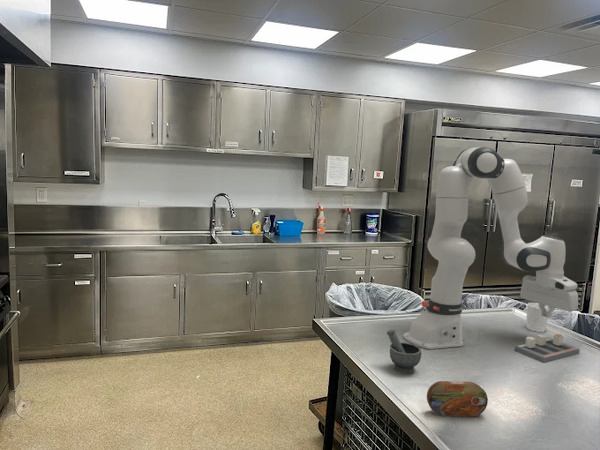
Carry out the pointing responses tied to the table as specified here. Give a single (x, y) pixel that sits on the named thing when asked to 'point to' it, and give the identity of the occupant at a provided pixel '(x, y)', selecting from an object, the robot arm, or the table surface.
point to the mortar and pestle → (403, 354)
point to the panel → (547, 351)
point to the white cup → (536, 318)
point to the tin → (457, 398)
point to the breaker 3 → (558, 339)
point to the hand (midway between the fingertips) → (546, 316)
